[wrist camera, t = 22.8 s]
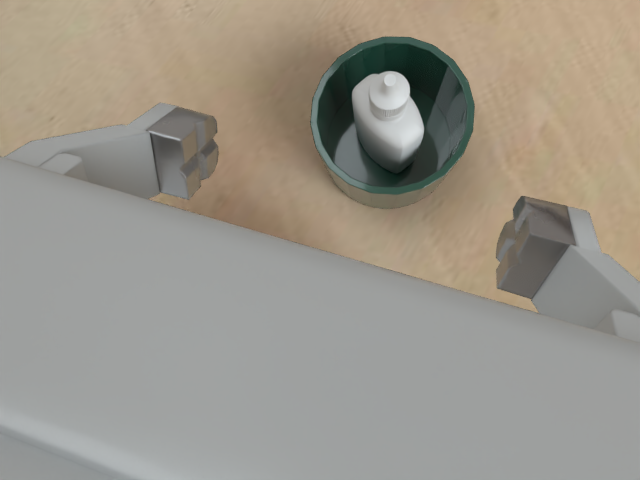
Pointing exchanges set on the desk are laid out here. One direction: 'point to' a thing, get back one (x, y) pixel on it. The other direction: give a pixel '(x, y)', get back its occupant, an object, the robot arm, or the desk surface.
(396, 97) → the eye dropper bottle
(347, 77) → the tin
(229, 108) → the desk surface
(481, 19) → the desk surface
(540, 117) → the desk surface
